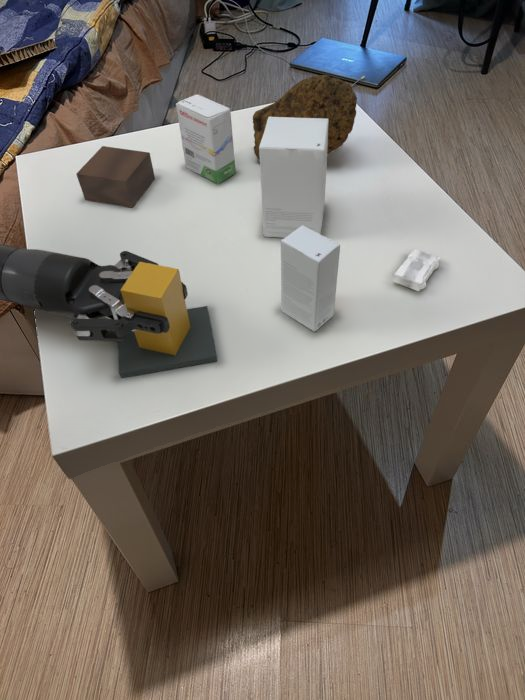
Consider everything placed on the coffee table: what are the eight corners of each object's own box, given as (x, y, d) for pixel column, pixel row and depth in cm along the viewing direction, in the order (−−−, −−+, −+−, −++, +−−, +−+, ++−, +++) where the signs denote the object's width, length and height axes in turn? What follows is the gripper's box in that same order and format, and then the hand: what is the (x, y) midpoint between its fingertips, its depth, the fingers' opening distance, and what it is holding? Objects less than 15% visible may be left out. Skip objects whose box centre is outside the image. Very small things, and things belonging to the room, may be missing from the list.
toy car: (388, 284, 73) (391, 272, 72) (411, 252, 77) (414, 240, 76) (420, 296, 72) (423, 284, 70) (441, 263, 76) (445, 251, 74)
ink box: (237, 173, 93) (232, 107, 84) (217, 185, 90) (209, 118, 81) (204, 156, 96) (196, 91, 87) (184, 167, 94) (173, 102, 85)
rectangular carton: (324, 206, 85) (331, 116, 74) (320, 241, 80) (326, 149, 68) (269, 203, 87) (267, 114, 75) (261, 237, 81) (257, 146, 69)
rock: (295, 176, 104) (384, 119, 92) (271, 191, 95) (366, 131, 83) (261, 114, 101) (348, 47, 89) (232, 124, 92) (325, 51, 80)
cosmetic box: (334, 315, 70) (342, 244, 61) (314, 333, 68) (319, 262, 59) (300, 294, 73) (302, 223, 63) (279, 311, 71) (279, 240, 61)
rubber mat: (120, 378, 64) (118, 373, 64) (119, 325, 70) (117, 320, 69) (217, 361, 66) (216, 356, 65) (207, 310, 71) (207, 305, 70)
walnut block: (84, 200, 89) (75, 173, 85) (109, 171, 94) (102, 145, 90) (132, 208, 87) (125, 181, 83) (155, 178, 92) (149, 152, 88)
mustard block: (139, 347, 66) (120, 290, 58) (155, 319, 69) (139, 261, 61) (175, 355, 65) (161, 298, 57) (190, 327, 68) (178, 268, 60)
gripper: (88, 268, 73) (202, 290, 69) (30, 344, 64) (157, 374, 60) (71, 223, 67) (195, 245, 63) (5, 300, 58) (144, 331, 55)
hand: (176, 308), depth 62 cm, fingers closed on mustard block, 5 cm apart
